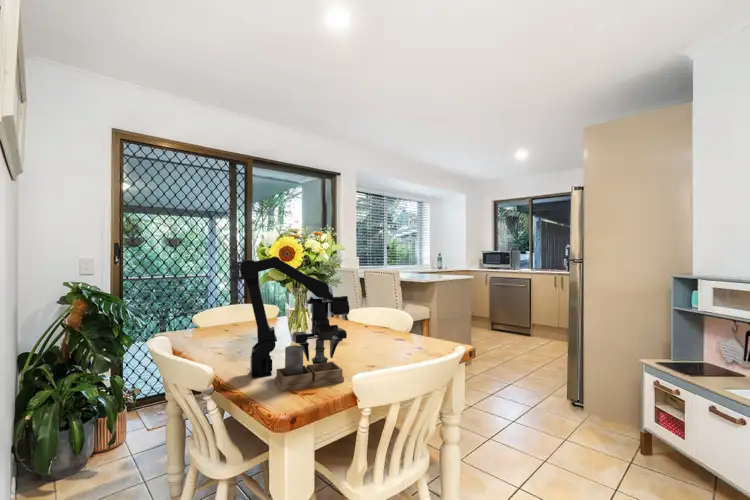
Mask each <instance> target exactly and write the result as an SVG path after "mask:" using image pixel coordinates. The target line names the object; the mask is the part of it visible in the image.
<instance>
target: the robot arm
mask: <svg viewBox="0 0 750 500" xmlns="http://www.w3.org/2000/svg"><path fill="white" fill-rule="evenodd" d="M270 269H275V270H277V271H279V272H280V273H282V274H284V275H285V276H287V277H289V278H290V279H293V280H294V281H296V282H297V283H299V284H300V285H302V286H304V287H305V288H306V289H307V290H308V291H309V292H310V293H311V294H313V295H314V296H315V297H317V298H313V296H310V297H309V298H308V299H307V300H306V303H307V305H311V318H310V320H311V329H310V332H311V333H306V332H304V331H295V332H293V333H292V337H291V340H292V342H294V343H295V344H298V346H303V355H304V356H305V359H306V361H307V362H310V352H309V351H310V350H309V345H310V343H309V342H308V340H314V339H318V338H319V340H320V341H324V342H325V341H329V357H330V358H331V359H333V357H334V354H335V352H336V348H337V346H338V344H339V343H340V342H343V340H344V339H347V337H348V333H347V331H346V330H345V329H343V328H341V327H339V326H338V324H330V319H329V314H332V316H345V315H346V316H348V315H349V314H350V304H349V296H347V295H342V296H334V295H333V294H332V293H331V292H330V286H329V284H328V283H327V282H325V281H323V280H321V279H318V278H315V277H312V276H310V275H307V274H306V273H303V272H302V271H300V270H299V269H297V268H295V267H294V266H292V265H290V264H289V263H287V262H285V261H284V260H282V259H281V258H279V257H278V256H271V257H269V258H265V259H260V260H253V259H246V260H244V261H243V262H242V263H241V264H240V268H239V270H240V271H239V272H240V274H241V276H242V278H243V281H244V282H245V285H246V287H247V289H248V293H249V297H250V302H251V306H252V311H253V315H254V320H255V323H256V330H257V331H256V332H257V333H256V334H257V342H256V344H254V345H253V346H252V348H251V355H250V358H249V359H250V362H249V363H250V370H249V374H250V377H251V378H259V377H266V376H272V374H273V373H272V372H273V359H272V358H271V354H270V353H272V352H273V351H274V350H275V347H276V342H278V338H277V335H276V333H275V326H270V325H269V322H268V318H267V314H266V310H265V304H264V299H263V296H262V291H261V286H260V272H263V271H267V270H270ZM323 298H324V299H325V300H323Z"/></svg>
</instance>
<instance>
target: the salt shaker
mask: <svg viewBox="0 0 750 500" xmlns="http://www.w3.org/2000/svg"><path fill="white" fill-rule="evenodd" d="M315 339H316V340H315V348H314V350H315V356H314V357H312V358H311V361H312V364H319V363H327V362H328V360H329V357H327V356H325V349H326V347H325V341H320V340H319V338H315Z"/></svg>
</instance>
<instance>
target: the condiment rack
mask: <svg viewBox="0 0 750 500" xmlns="http://www.w3.org/2000/svg"><path fill="white" fill-rule="evenodd" d="M284 349H285V350H284V355H285V356H284V365H285V366H284V367H282V368H276V376H274V383H275V384H276V385H277V386H278V388H279V390H280V391H281V392H282V393H283V392H288V391H294V390H300V389H307V388H313V387H319V386H320V387H321V386H326V385H331V384H339V383H344V382H345V377H344V376H343V368H341V367H340V366H339V365H338V364H337V363H335V362H334V361H327V363H319V364H313V363H312V364H307V365H306V366H305V365H304V351H303V346H301V345H299V344H298V345H288V346H286V347H284Z"/></svg>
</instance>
